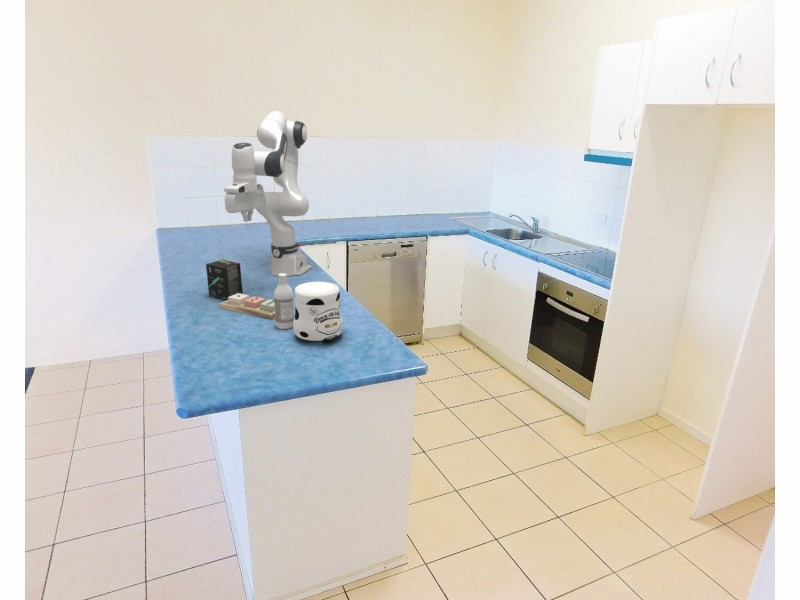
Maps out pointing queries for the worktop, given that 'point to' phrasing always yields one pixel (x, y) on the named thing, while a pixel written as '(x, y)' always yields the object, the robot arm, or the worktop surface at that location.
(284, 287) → the bath foam
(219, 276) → the tampon box
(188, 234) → the worktop surface
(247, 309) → the board
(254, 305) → the toy block
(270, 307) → the toy block
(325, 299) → the milk container
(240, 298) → the toy block
